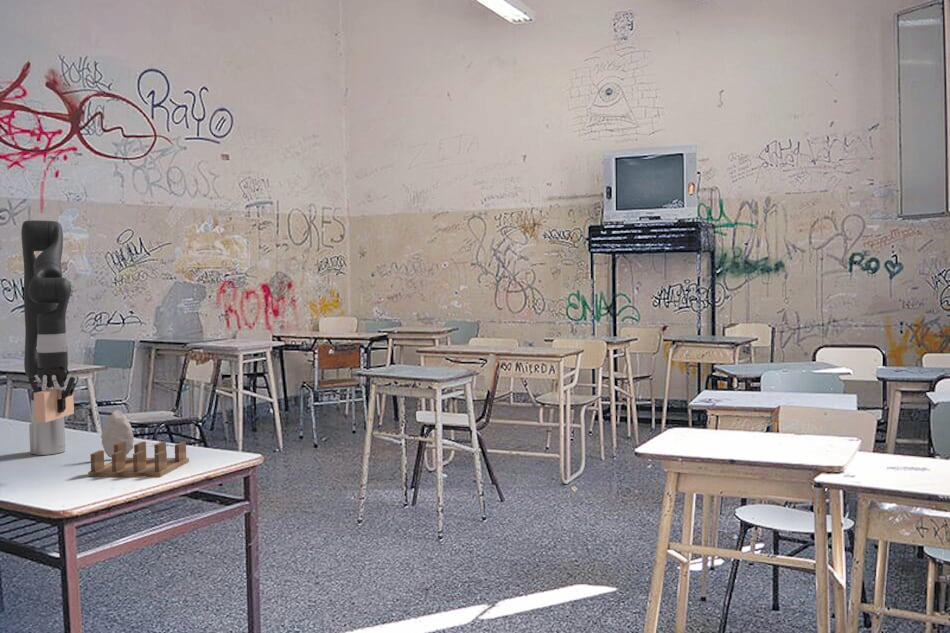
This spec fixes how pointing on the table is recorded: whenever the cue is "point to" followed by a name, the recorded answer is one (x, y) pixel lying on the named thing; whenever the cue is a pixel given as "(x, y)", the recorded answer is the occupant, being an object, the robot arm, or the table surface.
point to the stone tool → (117, 433)
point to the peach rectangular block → (50, 406)
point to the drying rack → (138, 461)
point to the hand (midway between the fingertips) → (54, 411)
